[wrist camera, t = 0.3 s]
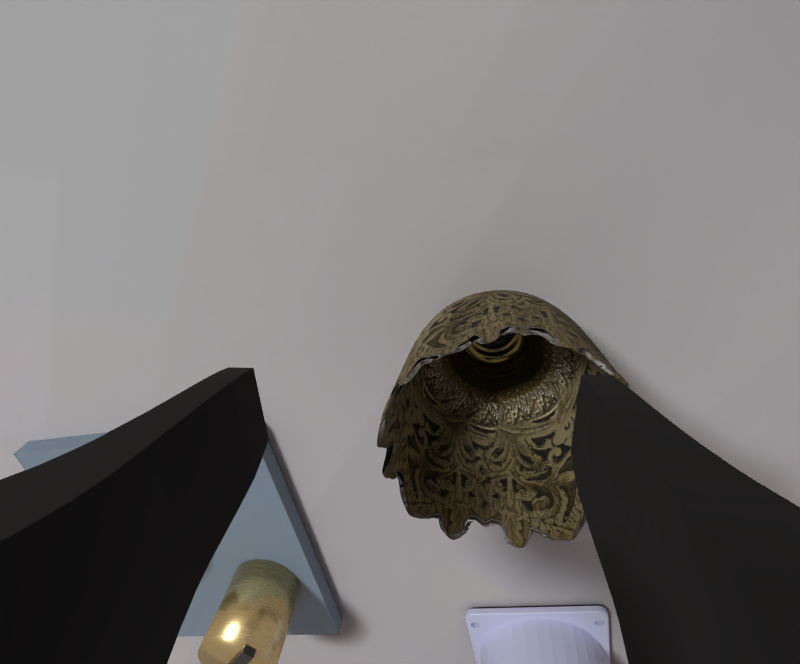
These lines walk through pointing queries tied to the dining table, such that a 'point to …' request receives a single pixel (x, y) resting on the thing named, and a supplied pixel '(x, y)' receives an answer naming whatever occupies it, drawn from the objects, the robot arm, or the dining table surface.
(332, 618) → the blue-grey flat slab
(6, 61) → the dining table surface
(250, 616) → the knob
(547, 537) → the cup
